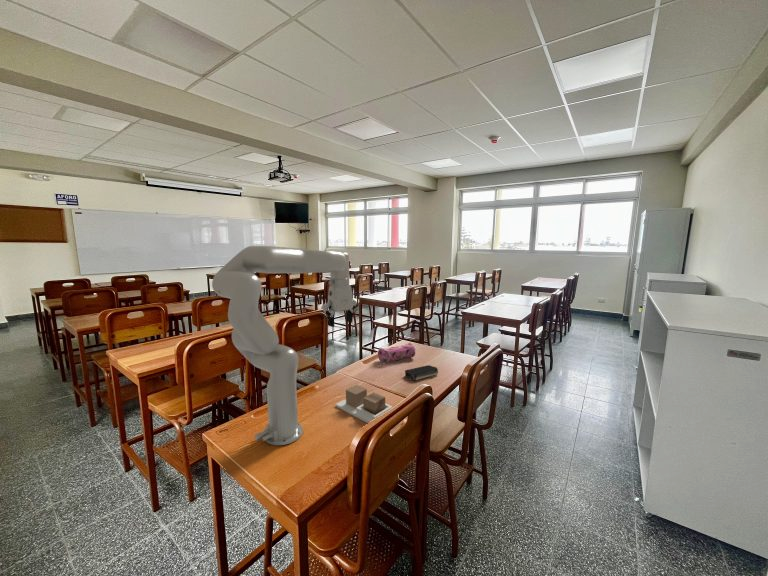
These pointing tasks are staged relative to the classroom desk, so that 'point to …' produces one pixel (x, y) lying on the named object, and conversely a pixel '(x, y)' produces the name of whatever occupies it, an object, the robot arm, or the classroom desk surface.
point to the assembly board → (361, 411)
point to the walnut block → (374, 403)
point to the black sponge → (421, 372)
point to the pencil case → (396, 353)
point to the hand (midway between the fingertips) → (340, 323)
